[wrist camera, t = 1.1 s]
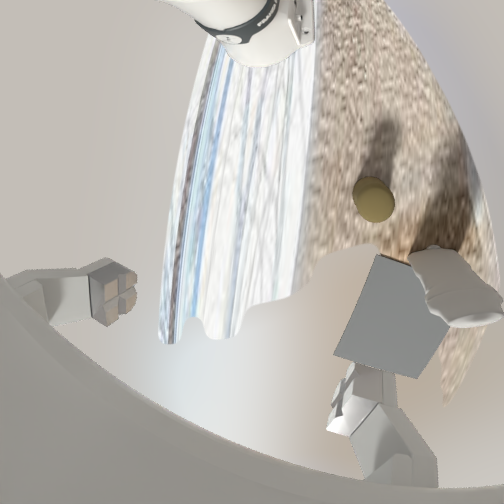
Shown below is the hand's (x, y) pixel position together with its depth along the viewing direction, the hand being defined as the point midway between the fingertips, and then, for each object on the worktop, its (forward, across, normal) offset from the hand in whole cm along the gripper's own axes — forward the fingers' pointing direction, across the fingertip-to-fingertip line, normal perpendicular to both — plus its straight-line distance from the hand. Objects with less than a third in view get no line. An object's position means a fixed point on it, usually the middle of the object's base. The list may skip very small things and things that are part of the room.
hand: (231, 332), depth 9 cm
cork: (+40, -6, -3) cm, 40 cm away
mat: (+40, -21, +17) cm, 48 cm away
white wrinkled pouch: (+40, -20, +3) cm, 45 cm away
